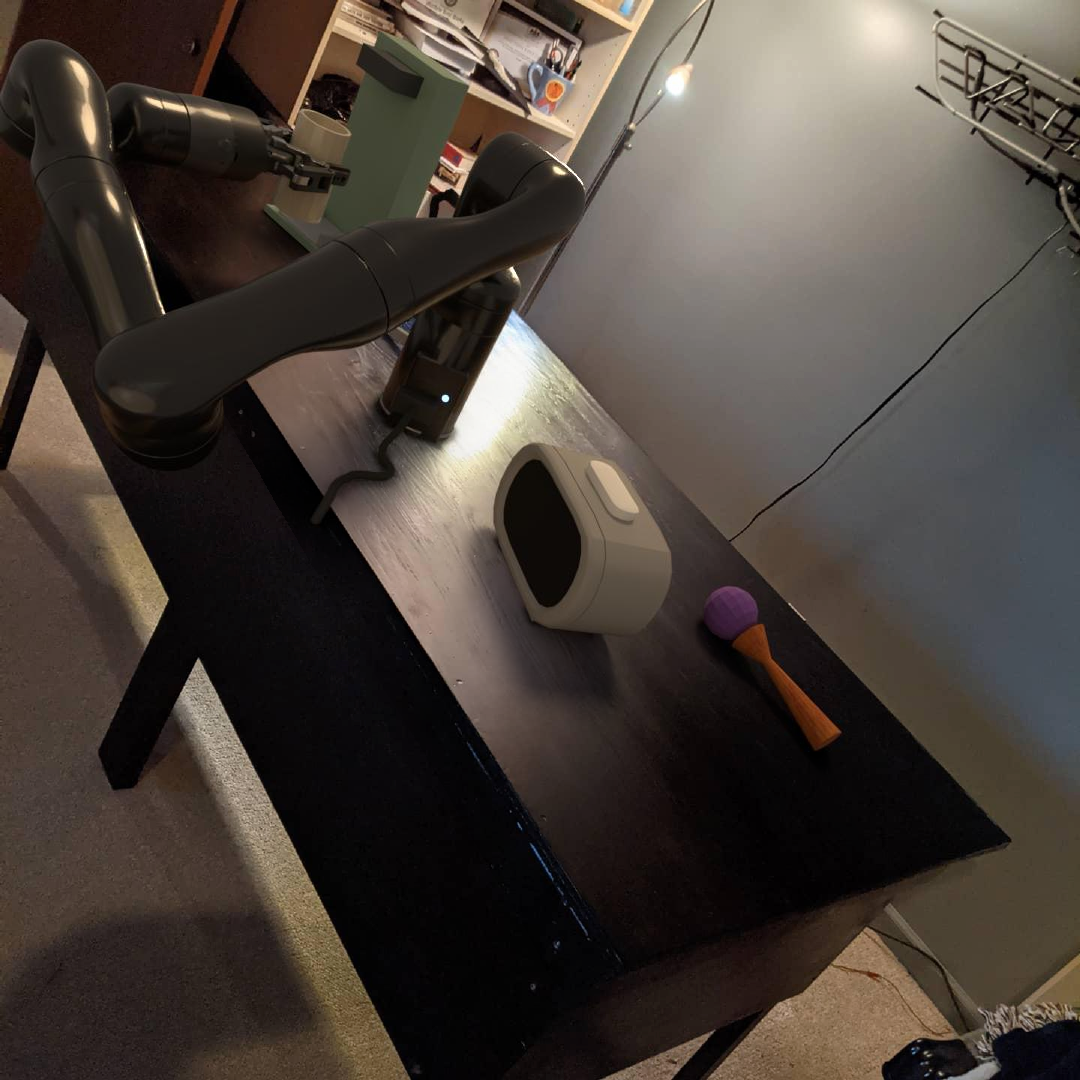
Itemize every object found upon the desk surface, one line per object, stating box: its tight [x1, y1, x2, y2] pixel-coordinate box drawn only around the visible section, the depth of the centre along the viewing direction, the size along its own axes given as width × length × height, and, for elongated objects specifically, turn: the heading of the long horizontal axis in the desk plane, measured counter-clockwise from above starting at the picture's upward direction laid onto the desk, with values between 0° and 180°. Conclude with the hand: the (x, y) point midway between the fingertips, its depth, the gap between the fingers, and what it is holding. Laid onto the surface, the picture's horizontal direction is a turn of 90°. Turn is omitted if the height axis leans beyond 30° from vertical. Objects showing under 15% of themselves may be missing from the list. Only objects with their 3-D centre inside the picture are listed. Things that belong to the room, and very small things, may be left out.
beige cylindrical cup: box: [271, 108, 351, 223], centre depth 101 cm, size 6×6×11 cm
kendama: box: [702, 585, 842, 752], centre depth 91 cm, size 6×6×20 cm
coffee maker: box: [264, 30, 470, 253], centre depth 125 cm, size 16×14×29 cm
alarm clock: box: [492, 441, 673, 638], centre depth 84 cm, size 21×10×13 cm, turn 21°
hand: (329, 162), depth 102 cm, fingers closed on beige cylindrical cup, 6 cm apart
